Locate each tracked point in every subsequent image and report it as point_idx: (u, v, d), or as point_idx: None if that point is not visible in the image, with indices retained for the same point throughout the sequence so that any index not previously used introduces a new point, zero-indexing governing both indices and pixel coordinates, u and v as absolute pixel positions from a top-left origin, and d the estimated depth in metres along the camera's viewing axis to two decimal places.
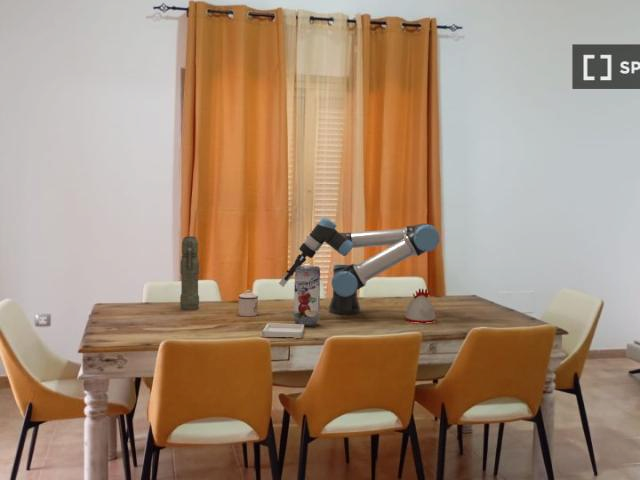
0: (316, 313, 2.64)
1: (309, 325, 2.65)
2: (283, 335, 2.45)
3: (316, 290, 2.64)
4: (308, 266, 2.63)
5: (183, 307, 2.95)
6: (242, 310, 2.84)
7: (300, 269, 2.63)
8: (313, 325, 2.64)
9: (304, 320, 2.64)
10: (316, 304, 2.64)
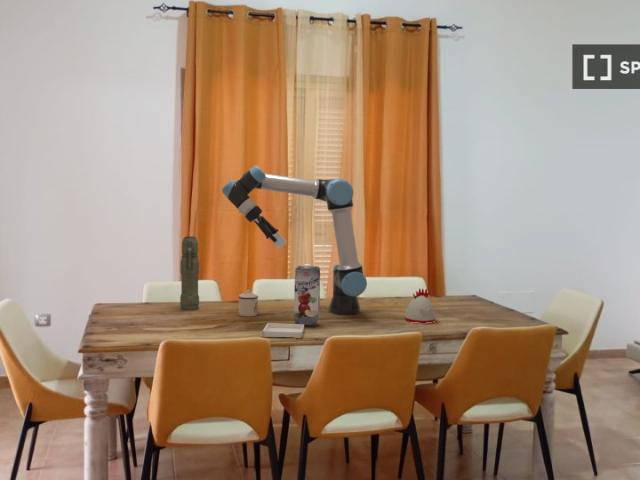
0: (316, 313, 2.64)
1: (309, 325, 2.65)
2: (283, 335, 2.45)
3: (316, 290, 2.64)
4: (308, 266, 2.63)
5: (183, 307, 2.95)
6: (242, 310, 2.84)
7: (300, 269, 2.63)
8: (313, 325, 2.64)
9: (304, 320, 2.64)
10: (316, 304, 2.64)
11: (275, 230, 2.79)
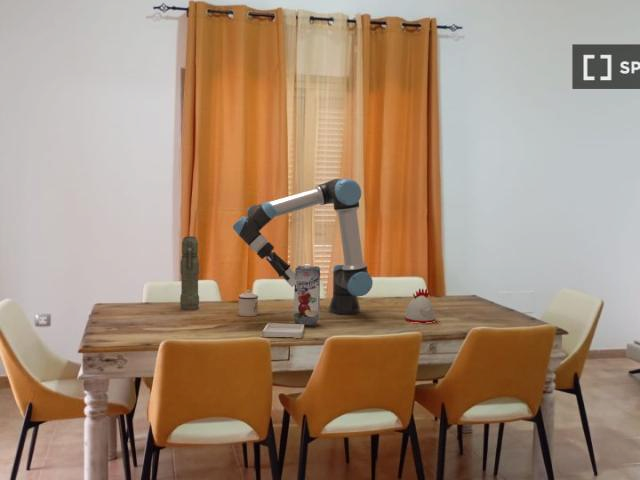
0: (316, 313, 2.64)
1: (309, 325, 2.65)
2: (283, 335, 2.45)
3: (316, 290, 2.64)
4: (308, 266, 2.63)
5: (183, 307, 2.95)
6: (242, 310, 2.84)
7: (300, 269, 2.63)
8: (313, 325, 2.64)
9: (304, 320, 2.64)
10: (316, 304, 2.64)
11: (287, 266, 2.73)
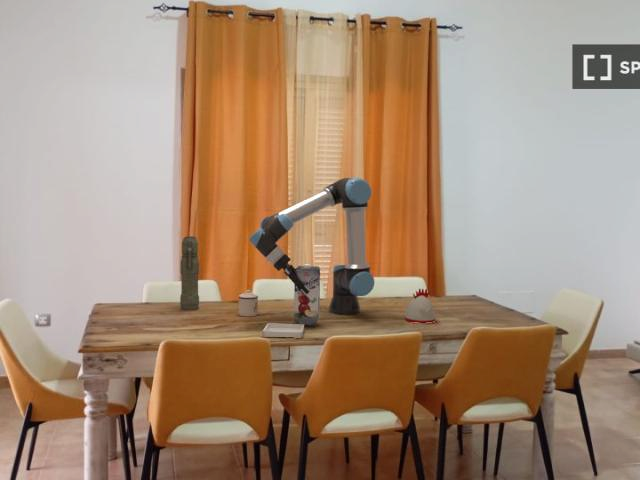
0: (316, 313, 2.64)
1: (309, 325, 2.65)
2: (283, 335, 2.45)
3: (316, 290, 2.64)
4: (308, 266, 2.63)
5: (183, 307, 2.95)
6: (242, 310, 2.84)
7: (300, 269, 2.63)
8: (313, 325, 2.64)
9: (304, 320, 2.64)
10: (316, 304, 2.64)
11: None
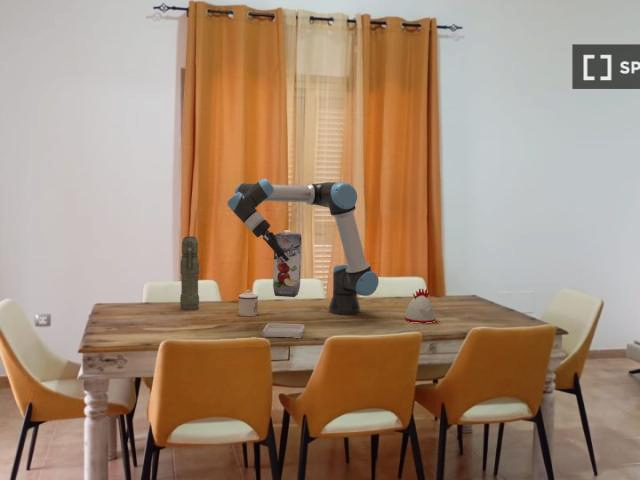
0: (296, 282, 2.50)
1: (289, 295, 2.50)
2: (283, 335, 2.45)
3: (297, 257, 2.49)
4: (288, 232, 2.49)
5: (183, 307, 2.95)
6: (242, 310, 2.84)
7: (280, 235, 2.49)
8: (293, 295, 2.50)
9: (284, 290, 2.50)
10: (296, 273, 2.50)
11: None
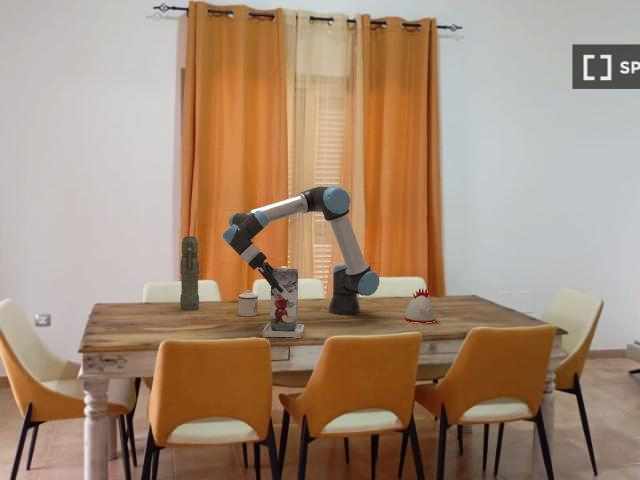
0: (294, 318, 2.49)
1: (286, 331, 2.49)
2: (283, 335, 2.45)
3: (294, 294, 2.48)
4: (285, 268, 2.47)
5: (183, 307, 2.95)
6: (242, 310, 2.84)
7: (277, 272, 2.47)
8: (291, 331, 2.48)
9: (281, 326, 2.48)
10: (294, 309, 2.48)
11: None
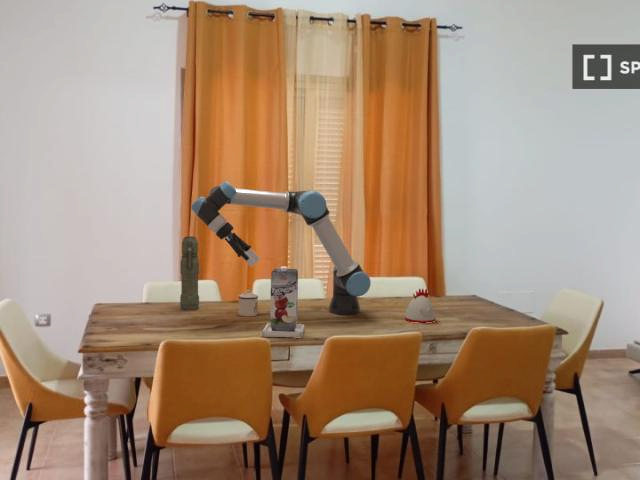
0: (294, 319, 2.49)
1: (286, 331, 2.49)
2: (283, 335, 2.45)
3: (294, 294, 2.48)
4: (285, 269, 2.47)
5: (183, 307, 2.95)
6: (242, 310, 2.84)
7: (276, 272, 2.47)
8: (291, 331, 2.48)
9: (281, 327, 2.48)
10: (294, 309, 2.48)
11: (248, 247, 2.70)
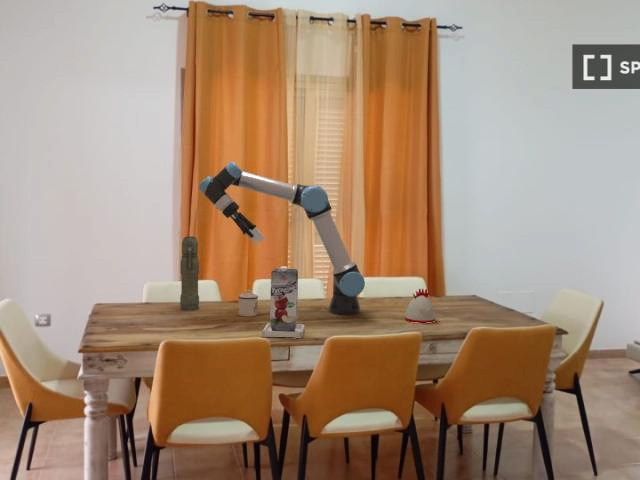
0: (294, 319, 2.49)
1: (286, 331, 2.49)
2: (283, 335, 2.45)
3: (294, 294, 2.48)
4: (285, 269, 2.47)
5: (183, 307, 2.95)
6: (242, 310, 2.84)
7: (276, 272, 2.47)
8: (291, 331, 2.48)
9: (281, 327, 2.48)
10: (294, 309, 2.48)
11: (253, 226, 2.80)
